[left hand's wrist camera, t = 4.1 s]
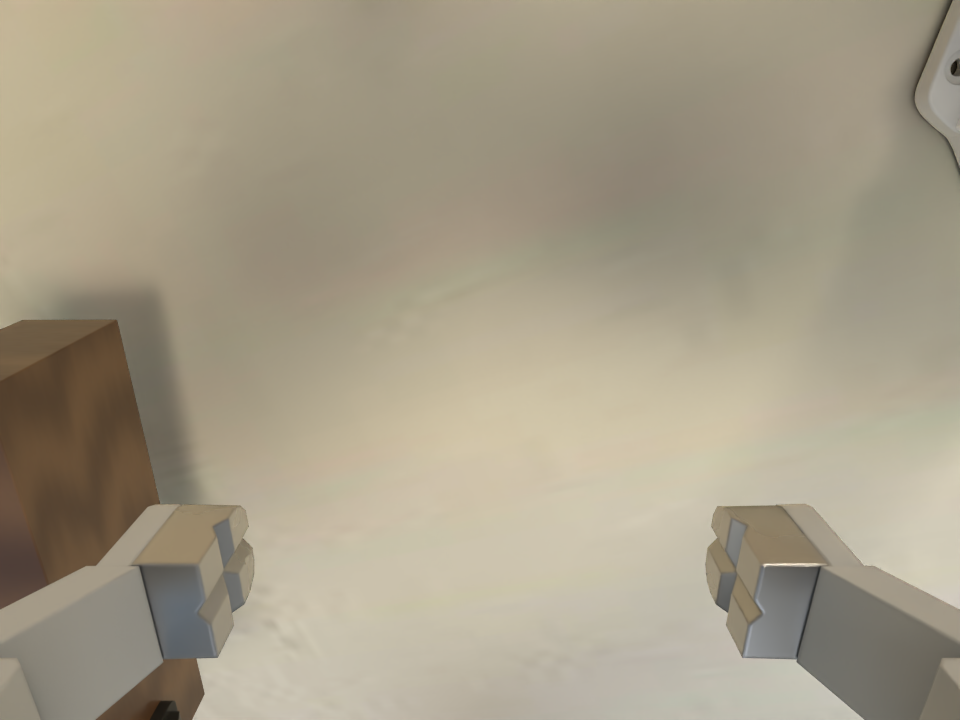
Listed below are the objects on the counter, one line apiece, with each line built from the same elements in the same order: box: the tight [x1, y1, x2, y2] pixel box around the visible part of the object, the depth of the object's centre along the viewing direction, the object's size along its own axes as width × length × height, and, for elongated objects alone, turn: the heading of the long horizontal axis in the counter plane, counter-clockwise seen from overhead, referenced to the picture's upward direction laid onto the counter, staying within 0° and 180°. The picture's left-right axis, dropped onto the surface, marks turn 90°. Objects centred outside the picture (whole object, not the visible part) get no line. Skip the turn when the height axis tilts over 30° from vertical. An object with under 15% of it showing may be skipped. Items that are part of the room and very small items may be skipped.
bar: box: [0, 320, 204, 720], centre depth 30 cm, size 25×5×8 cm, turn 0°
